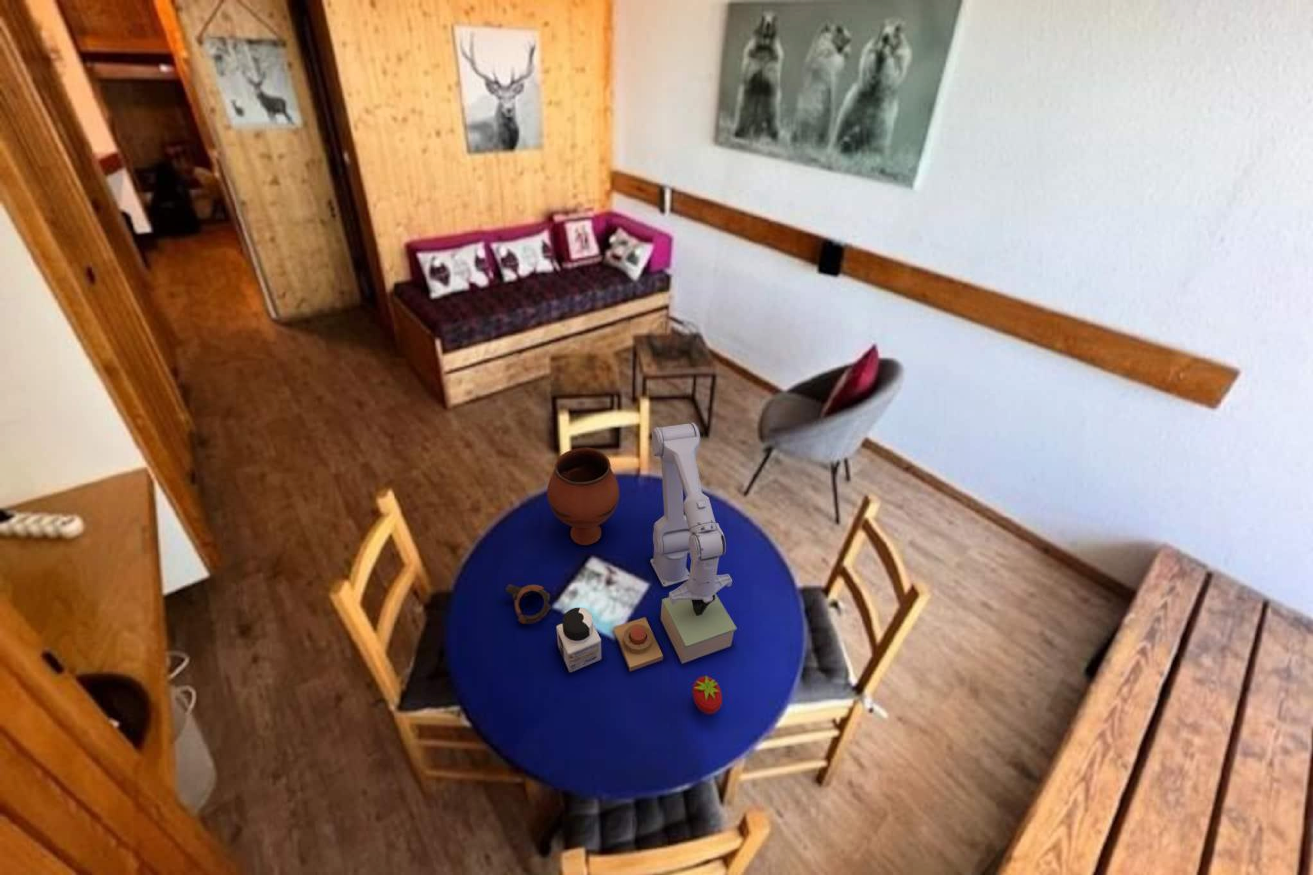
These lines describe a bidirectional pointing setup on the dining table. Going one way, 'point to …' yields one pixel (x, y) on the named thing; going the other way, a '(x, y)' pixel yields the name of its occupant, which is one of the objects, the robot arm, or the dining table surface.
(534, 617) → the rusty metal ring
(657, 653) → the control block
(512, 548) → the dining table surface
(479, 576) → the dining table surface
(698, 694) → the strawberry
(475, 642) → the dining table surface
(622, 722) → the dining table surface
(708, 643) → the wooden box
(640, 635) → the button
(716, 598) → the lid
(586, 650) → the container
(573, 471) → the goblet
